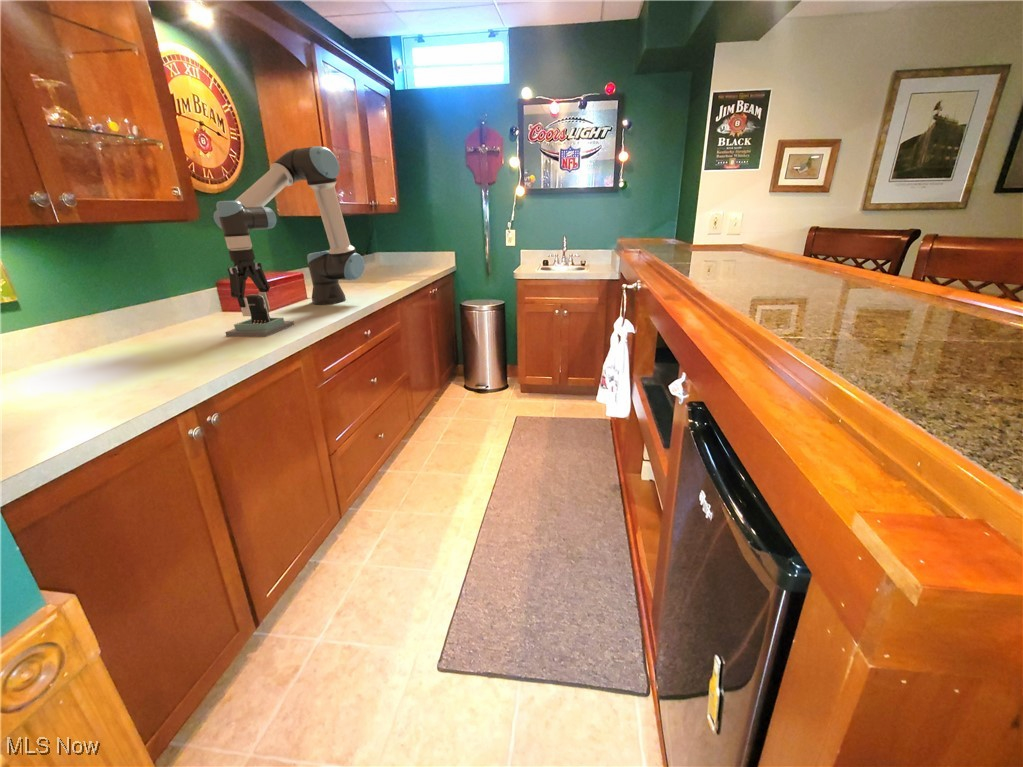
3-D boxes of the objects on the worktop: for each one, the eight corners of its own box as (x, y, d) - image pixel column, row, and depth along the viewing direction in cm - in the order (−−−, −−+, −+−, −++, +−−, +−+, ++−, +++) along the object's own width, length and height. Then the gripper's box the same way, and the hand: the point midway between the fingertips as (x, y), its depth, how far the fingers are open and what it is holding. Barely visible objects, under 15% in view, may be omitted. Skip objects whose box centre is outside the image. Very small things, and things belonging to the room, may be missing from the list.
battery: (249, 327, 160) (239, 296, 155) (255, 323, 163) (247, 293, 158) (266, 327, 159) (257, 297, 154) (272, 324, 162) (264, 294, 157)
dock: (257, 324, 170) (254, 315, 169) (294, 324, 168) (292, 315, 166) (226, 336, 156) (223, 326, 154) (266, 336, 153) (264, 326, 152)
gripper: (253, 246, 162) (268, 306, 170) (205, 252, 141) (225, 320, 150) (271, 245, 160) (285, 306, 169) (225, 252, 140) (244, 320, 149)
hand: (257, 312), depth 159 cm, fingers open, 9 cm apart
